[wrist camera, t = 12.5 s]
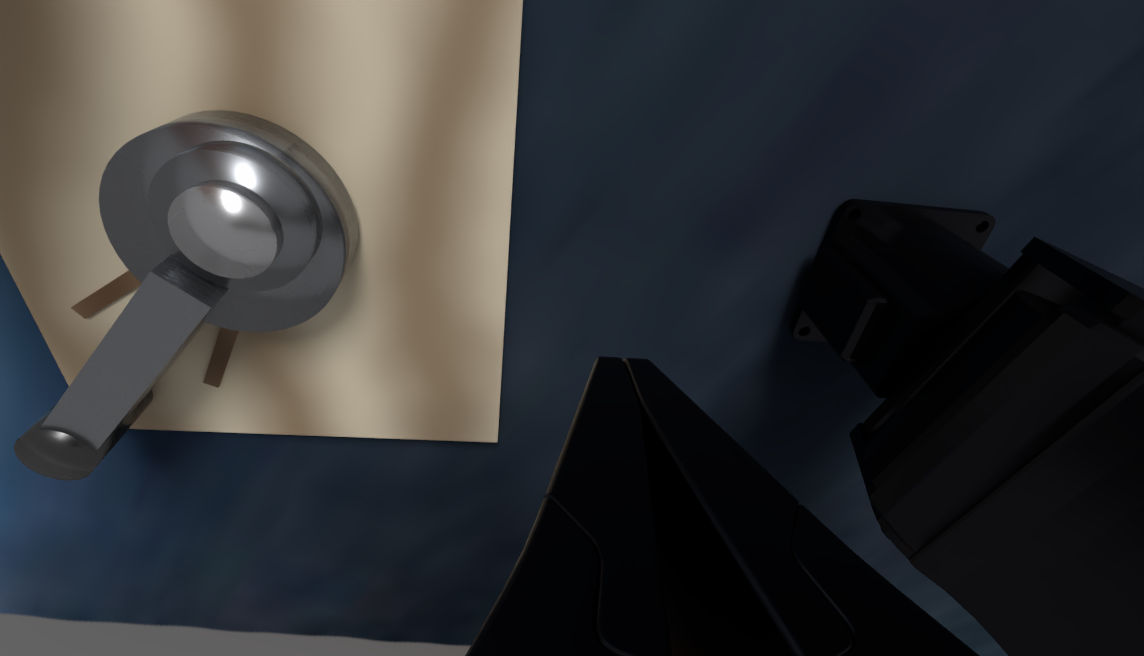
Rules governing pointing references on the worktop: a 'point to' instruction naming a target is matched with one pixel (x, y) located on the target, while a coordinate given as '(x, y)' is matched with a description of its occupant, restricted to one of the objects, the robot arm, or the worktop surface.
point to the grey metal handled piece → (198, 264)
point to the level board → (344, 139)
